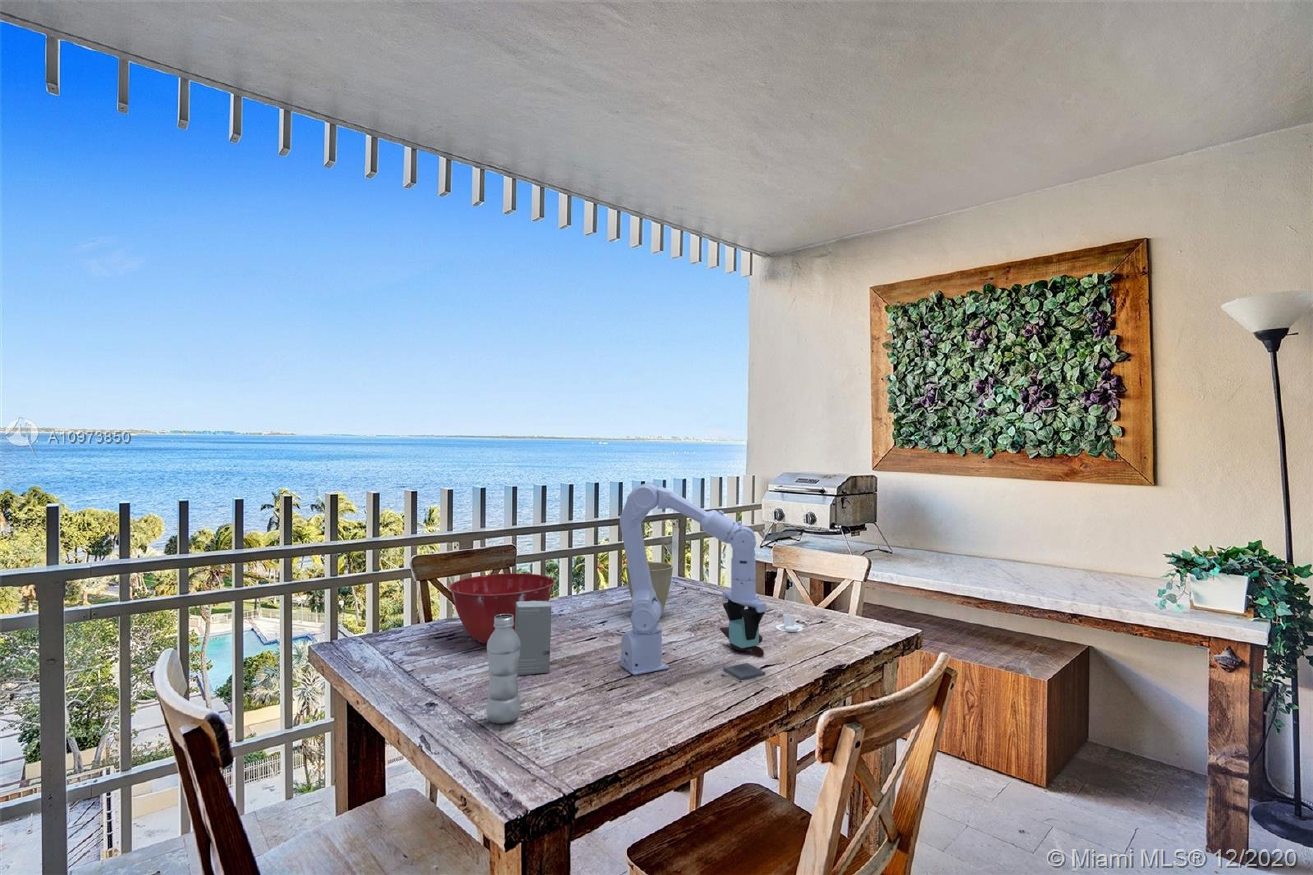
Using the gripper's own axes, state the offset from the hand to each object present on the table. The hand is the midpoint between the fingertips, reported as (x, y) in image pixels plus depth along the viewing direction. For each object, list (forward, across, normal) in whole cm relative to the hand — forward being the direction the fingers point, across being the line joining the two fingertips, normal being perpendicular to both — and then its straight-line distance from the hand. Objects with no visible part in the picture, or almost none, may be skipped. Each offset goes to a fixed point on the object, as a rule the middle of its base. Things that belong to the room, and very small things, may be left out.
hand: (743, 636), depth 143 cm
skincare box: (+8, +25, +43) cm, 51 cm away
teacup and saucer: (+9, +23, -30) cm, 39 cm away
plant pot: (+9, +53, -3) cm, 54 cm away
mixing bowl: (+8, +53, +43) cm, 69 cm away
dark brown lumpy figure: (+9, +13, -9) cm, 18 cm away
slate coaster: (+8, 0, 0) cm, 9 cm away
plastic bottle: (+8, +1, +56) cm, 57 cm away
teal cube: (+2, 0, 0) cm, 2 cm away
